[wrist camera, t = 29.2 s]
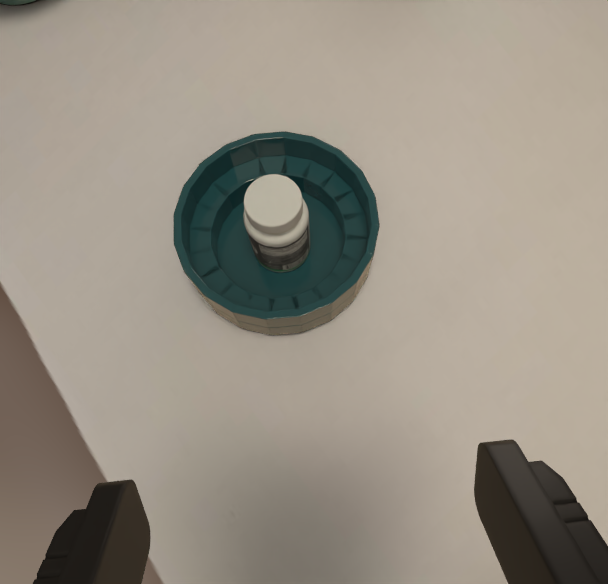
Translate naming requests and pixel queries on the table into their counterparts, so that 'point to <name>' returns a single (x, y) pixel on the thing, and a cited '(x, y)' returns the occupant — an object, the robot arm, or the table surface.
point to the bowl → (237, 247)
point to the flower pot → (15, 2)
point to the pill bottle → (277, 222)
